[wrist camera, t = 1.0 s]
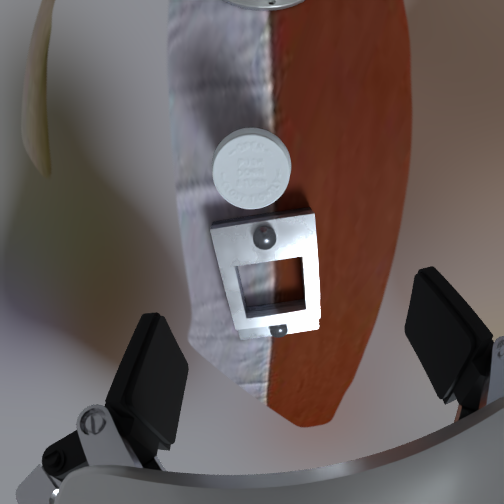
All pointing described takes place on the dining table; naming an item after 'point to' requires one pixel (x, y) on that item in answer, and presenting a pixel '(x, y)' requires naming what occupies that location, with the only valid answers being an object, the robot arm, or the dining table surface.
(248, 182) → the pill bottle
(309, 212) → the slotted white bracket
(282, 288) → the dining table surface
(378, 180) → the dining table surface
